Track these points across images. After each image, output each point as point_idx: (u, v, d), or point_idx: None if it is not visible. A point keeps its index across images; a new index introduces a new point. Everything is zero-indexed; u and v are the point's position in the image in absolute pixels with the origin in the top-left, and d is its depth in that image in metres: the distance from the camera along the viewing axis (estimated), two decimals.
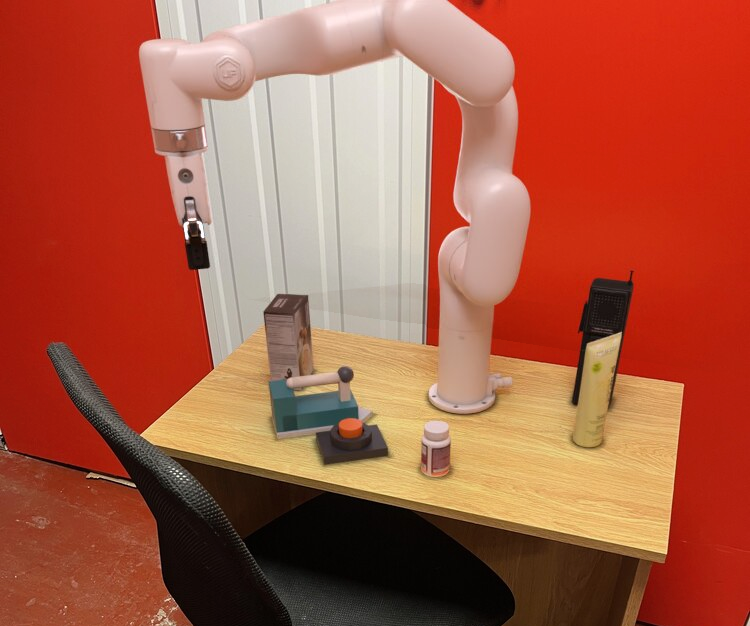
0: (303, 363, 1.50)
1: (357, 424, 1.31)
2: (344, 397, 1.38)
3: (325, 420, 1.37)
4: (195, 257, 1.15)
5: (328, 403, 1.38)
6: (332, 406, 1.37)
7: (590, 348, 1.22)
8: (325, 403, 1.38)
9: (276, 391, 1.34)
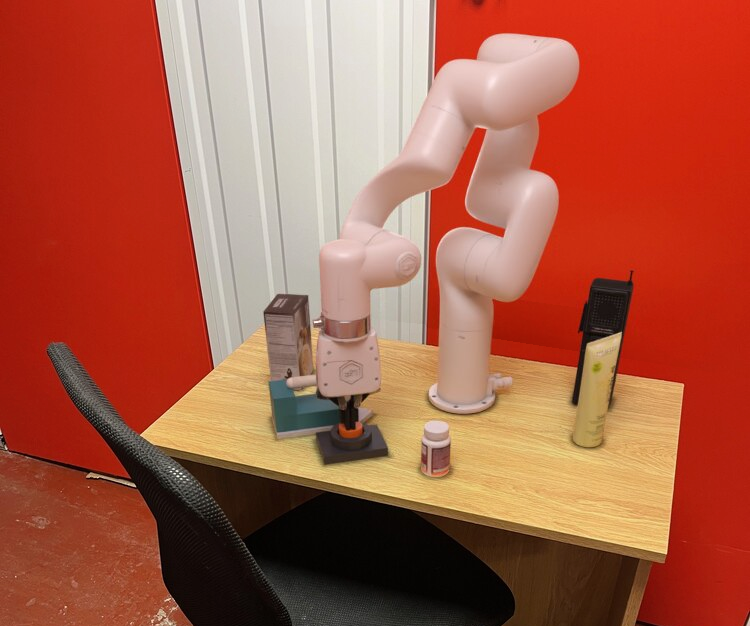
0: (303, 363, 1.50)
1: (357, 425, 1.31)
2: None
3: (325, 420, 1.37)
4: (339, 414, 1.30)
5: (328, 403, 1.38)
6: (332, 406, 1.37)
7: (590, 348, 1.22)
8: (325, 403, 1.38)
9: (276, 391, 1.34)
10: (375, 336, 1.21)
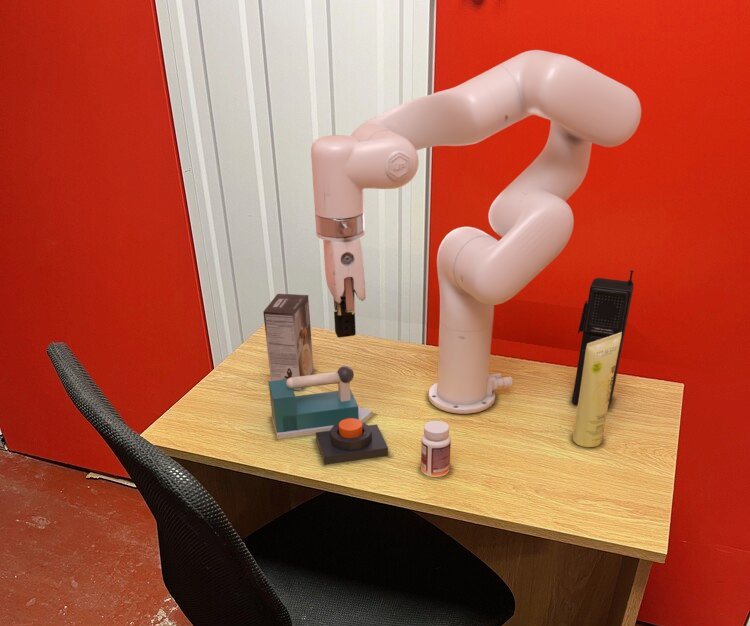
0: (303, 363, 1.50)
1: (357, 424, 1.31)
2: (344, 397, 1.38)
3: (325, 420, 1.37)
4: (344, 326, 1.28)
5: (328, 403, 1.38)
6: (332, 406, 1.37)
7: (590, 348, 1.22)
8: (325, 403, 1.38)
9: (276, 391, 1.34)
10: None
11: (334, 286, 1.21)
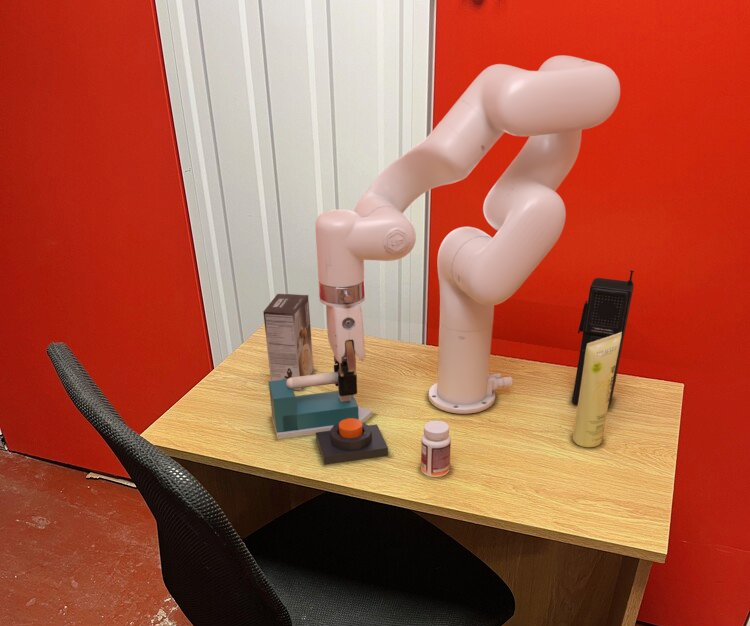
0: (303, 363, 1.50)
1: (357, 424, 1.31)
2: (344, 397, 1.38)
3: (325, 420, 1.37)
4: (346, 386, 1.35)
5: (328, 403, 1.38)
6: (332, 406, 1.37)
7: (590, 348, 1.22)
8: (325, 403, 1.38)
9: (276, 391, 1.34)
10: None
11: (336, 347, 1.29)
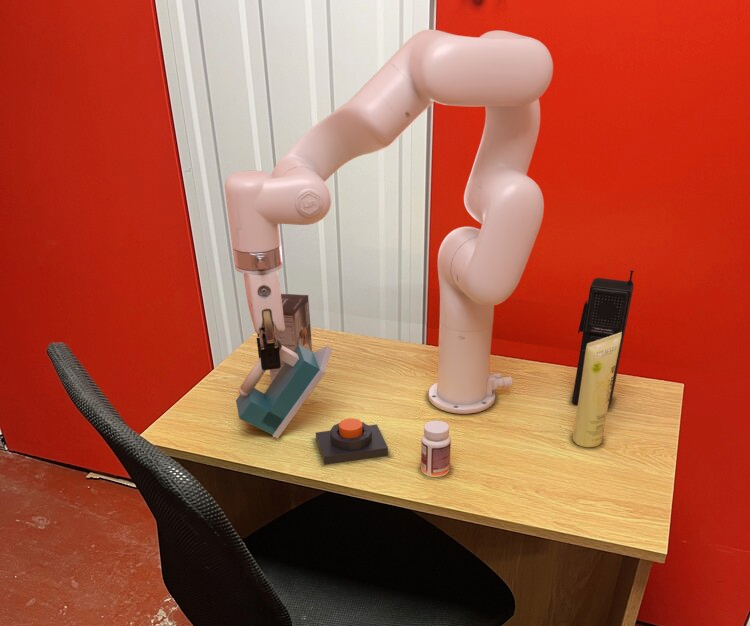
0: None
1: (357, 424, 1.31)
2: (291, 361, 1.32)
3: (294, 394, 1.33)
4: (268, 360, 1.28)
5: (286, 377, 1.33)
6: (289, 377, 1.32)
7: (590, 348, 1.22)
8: (284, 378, 1.34)
9: (240, 407, 1.35)
10: None
11: (253, 318, 1.22)
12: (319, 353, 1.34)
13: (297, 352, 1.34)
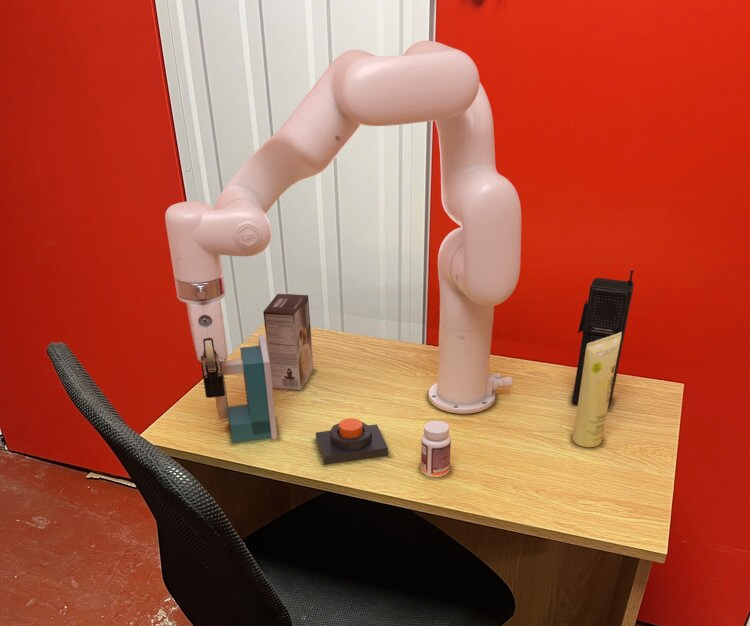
0: (303, 363, 1.50)
1: (357, 424, 1.31)
2: (238, 369, 1.30)
3: (260, 395, 1.31)
4: (211, 388, 1.29)
5: (245, 384, 1.32)
6: None
7: (590, 348, 1.22)
8: None
9: None
10: None
11: (195, 346, 1.23)
12: (259, 345, 1.31)
13: (241, 356, 1.32)
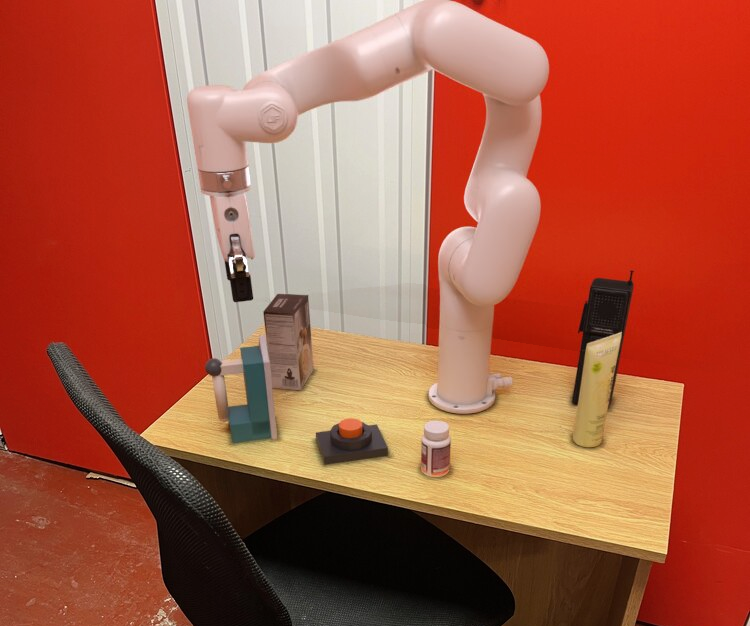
0: (303, 363, 1.50)
1: (357, 424, 1.31)
2: (238, 369, 1.30)
3: (260, 395, 1.31)
4: (239, 290, 1.20)
5: (245, 384, 1.32)
6: None
7: (590, 348, 1.22)
8: None
9: None
10: None
11: (220, 244, 1.17)
12: (259, 345, 1.31)
13: (241, 356, 1.32)
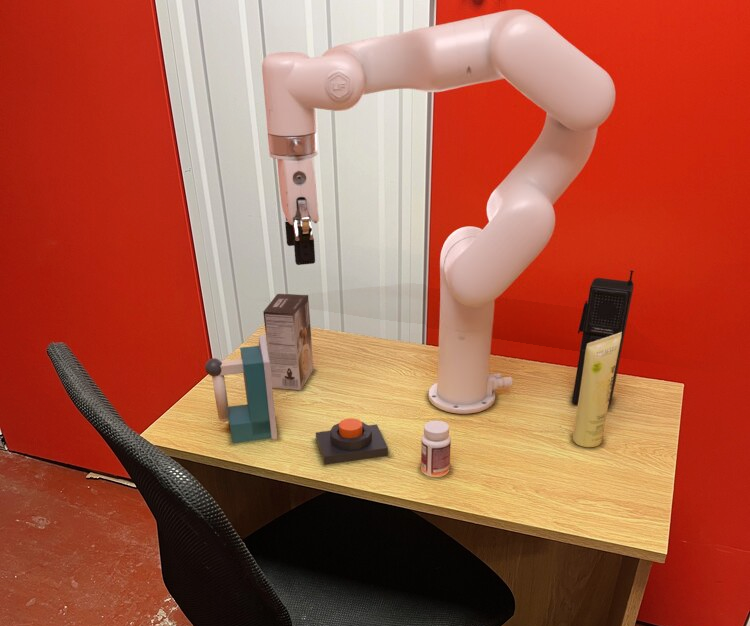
0: (303, 363, 1.50)
1: (357, 424, 1.31)
2: (238, 369, 1.30)
3: (260, 395, 1.31)
4: (302, 253, 1.25)
5: (245, 384, 1.32)
6: None
7: (590, 348, 1.22)
8: None
9: None
10: None
11: (287, 207, 1.22)
12: (259, 345, 1.31)
13: (241, 356, 1.32)
